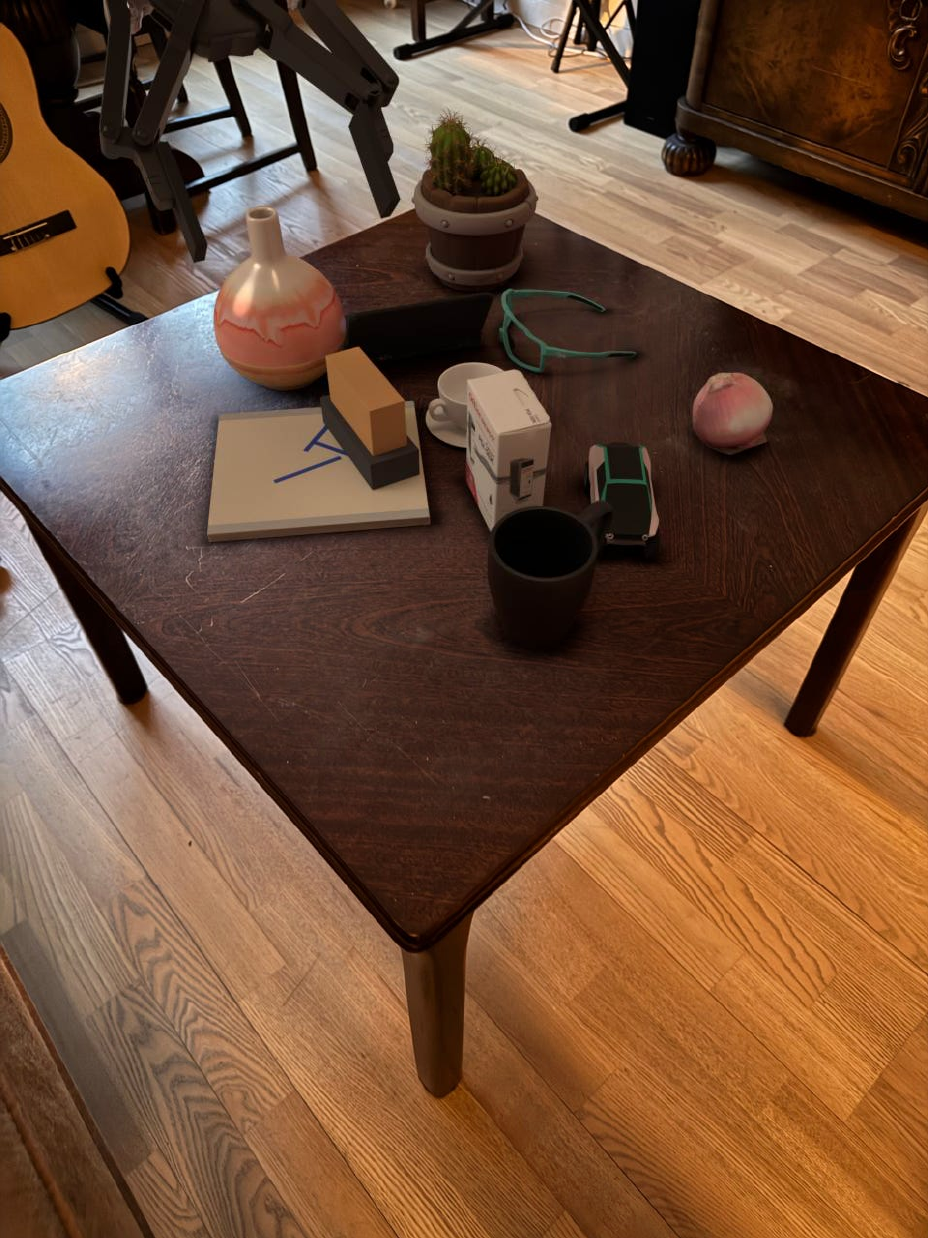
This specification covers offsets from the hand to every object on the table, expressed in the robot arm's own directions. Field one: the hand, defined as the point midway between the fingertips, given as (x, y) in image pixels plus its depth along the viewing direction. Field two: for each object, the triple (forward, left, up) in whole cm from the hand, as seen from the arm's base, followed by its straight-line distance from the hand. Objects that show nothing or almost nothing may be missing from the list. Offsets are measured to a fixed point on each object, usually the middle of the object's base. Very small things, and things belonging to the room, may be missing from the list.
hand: (299, 231), depth 58 cm
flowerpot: (+18, +46, -28) cm, 57 cm away
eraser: (+3, +11, -27) cm, 29 cm away
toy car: (+26, -1, -28) cm, 38 cm away
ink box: (+15, +2, -28) cm, 32 cm away
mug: (+17, -12, -28) cm, 35 cm away
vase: (-5, +26, -28) cm, 38 cm away
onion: (+39, +9, -28) cm, 49 cm away
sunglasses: (+26, +29, -28) cm, 48 cm away
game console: (+9, +30, -28) cm, 42 cm away
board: (-2, +9, -28) cm, 29 cm away
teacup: (+14, +15, -28) cm, 35 cm away
